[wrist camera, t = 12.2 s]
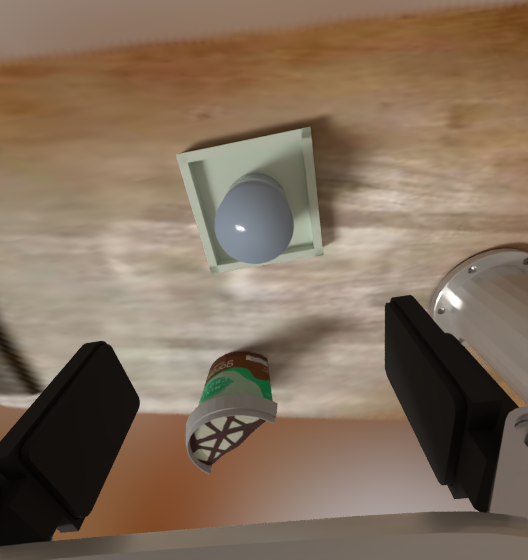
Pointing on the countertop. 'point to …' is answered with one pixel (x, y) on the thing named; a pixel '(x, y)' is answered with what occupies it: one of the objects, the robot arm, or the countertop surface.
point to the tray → (255, 159)
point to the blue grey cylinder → (254, 219)
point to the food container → (229, 407)
